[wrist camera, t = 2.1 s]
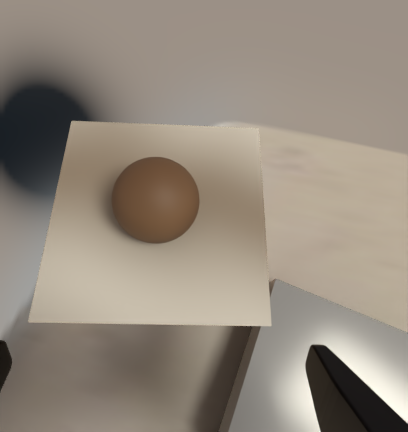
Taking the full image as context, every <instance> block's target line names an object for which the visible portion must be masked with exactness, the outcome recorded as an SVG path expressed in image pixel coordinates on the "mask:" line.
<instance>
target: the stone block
mask: <svg viewBox="0 0 408 432" xmlns="http://www.w3.org/2000/svg"><path fill="white" fill-rule="evenodd" d="M269 293H270V309H271V324H272V326H252V329H251V332H250V335H249V338H248V341H247V344H246V347H245V351H244V354H243V357H242V360H241V363H240V366H239V369H238V372H237V375H236V378H235V382H234V385H233V388H232V391H231V394H230V397H229V400H228V403H227V406H226V409H225V412H224V416H223V419H222V422H221V425H220V428H219V431H218V432H321V431H320V428H319V424H318V420H317V416H316V412H315V408H314V404H313V400H312V395H311V391H310V387H309V383H308V379H307V374H306V369H305V362H306V359H307V355H308V351H309V348H310V346H311V345H312V344H323V345H325V346H327V347H328V348H329V349H330V350H331V351H332V352H333V353H334V354H335V355H336V356H338V357H339V358H340V359H341V360H342V361H343V362H344V363H345V364H346V365H347V366H348V367H349V368H350V369H351V370H352V371H353V372H354V373H355V374H356V375H357V376H358V377H360V378H361V379H362V380H363V381H364V382H365V383H366V384H367V385H368V386H369V387H370V388H371V389H372V390H373V391H374V392H375V393H376V394H377V395H378V396H379V397H381V398H382V399H383V400H384V401H385V402H386V403H387V404H388V405H389V406H390V407H391V408H392V409H393V410H394V411H395V412H396V413H397V414H398V415H399V416H400V417H401V418H403V419H404V420H405V421H406V422H407V423H408V333H407V332H404V331H402V330H399V329H397V328H395V327H392V326H390V325H387V324H385V323H382V322H380V321H378V320H375V319H373V318H370V317H368V316H365V315H363V314H360V313H358V312H356V311H353V310H351V309H348V308H346V307H343V306H341V305H338V304H336V303H334V302H331V301H329V300H326V299H324V298H321V297H319V296H317V295H314V294H312V293H309V292H307V291H304V290H302V289H299V288H297V287H295V286H292V285H290V284H287V283H285V282H282V281H280V280H277V279H275V280H273V281H271V282H269Z"/></svg>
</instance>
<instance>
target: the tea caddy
mask: <svg viewBox="0 0 408 432" xmlns="http://www.w3.org/2000/svg"><path fill="white" fill-rule="evenodd" d="M28 322H30V323H93V324H156V325H220V326H272V324H271V309H270V293H269V277H268V262H267V246H266V230H265V215H264V199H263V183H262V168H261V152H260V137H259V128H239V127H213V126H188V125H185V126H184V125H161V124H135V123H109V122H84V121H72V122H71V127H70V131H69V136H68V140H67V145H66V150H65V154H64V159H63V163H62V168H61V173H60V177H59V181H58V187H57V191H56V195H55V200H54V204H53V209H52V214H51V218H50V223H49V227H48V232H47V237H46V242H45V246H44V250H43V255H42V259H41V264H40V268H39V273H38V278H37V282H36V287H35V291H34V296H33V300H32V305H31V310H30V314H29V319H28Z"/></svg>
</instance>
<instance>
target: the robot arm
mask: <svg viewBox="0 0 408 432" xmlns="http://www.w3.org/2000/svg"><path fill="white" fill-rule="evenodd" d="M11 365H12V358H11V355H10V353H9V350H8V347H7V344H6V342H5V341H3V340H0V391H1V389H2V387H3V384H4V382H5V380H6V378H7V375H8V373H9V371H10V368H11ZM305 369H306V374H307V379H308V383H309V387H310V391H311V395H312V400H313V404H314V408H315V412H316V416H317V420H318V424H319V428H320V431H321V432H408V423H407V422H406V421H405V420H404V419H403V418H401V417H400V416H399V415H398V414H397V413H396V412H395V411H394V410H393V409H392V408H391V407H390V406H389V405H388V404H387V403H386V402H385V401H384V400H383V399H382V398H381V397H379V396H378V395H377V394H376V393H375V392H374V391H373V390H372V389H371V388H370V387H369V386H368V385H367V384H366V383H365V382H364V381H363V380H362V379H361V378H360V377H358V376H357V375H356V374H355V373H354V372H353V371H352V370H351V369H350V368H349V367H348V366H347V365H346V364H345V363H344V362H343V361H342V360H341V359H340V358H339V357H338V356H336V355H335V354H334V353H333V352H332V351H331V350H330V349H329V348H328V347H327V346H325V345H323V344H312V345H311V346H310V348H309V351H308V355H307V359H306V362H305Z"/></svg>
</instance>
